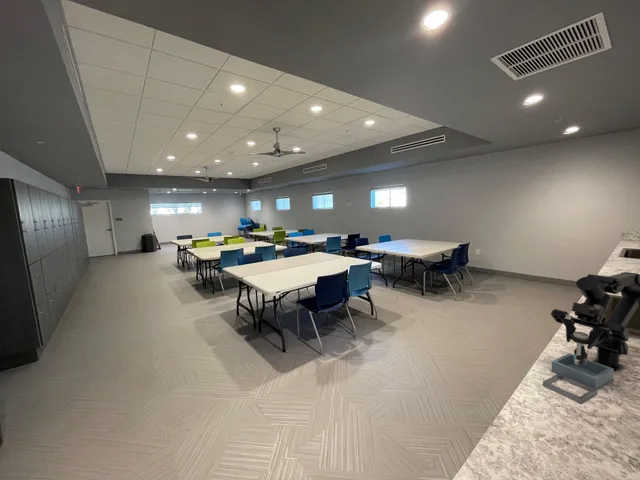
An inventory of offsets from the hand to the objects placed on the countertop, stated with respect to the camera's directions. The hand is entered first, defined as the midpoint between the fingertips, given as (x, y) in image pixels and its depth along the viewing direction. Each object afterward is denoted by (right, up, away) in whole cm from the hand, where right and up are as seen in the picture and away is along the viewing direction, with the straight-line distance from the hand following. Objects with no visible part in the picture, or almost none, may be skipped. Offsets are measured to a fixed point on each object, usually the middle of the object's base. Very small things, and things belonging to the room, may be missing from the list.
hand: (577, 344), depth 90 cm
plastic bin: (+5, -12, +4) cm, 14 cm away
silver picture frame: (-5, -13, -3) cm, 15 cm away
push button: (+2, -7, +1) cm, 7 cm away
